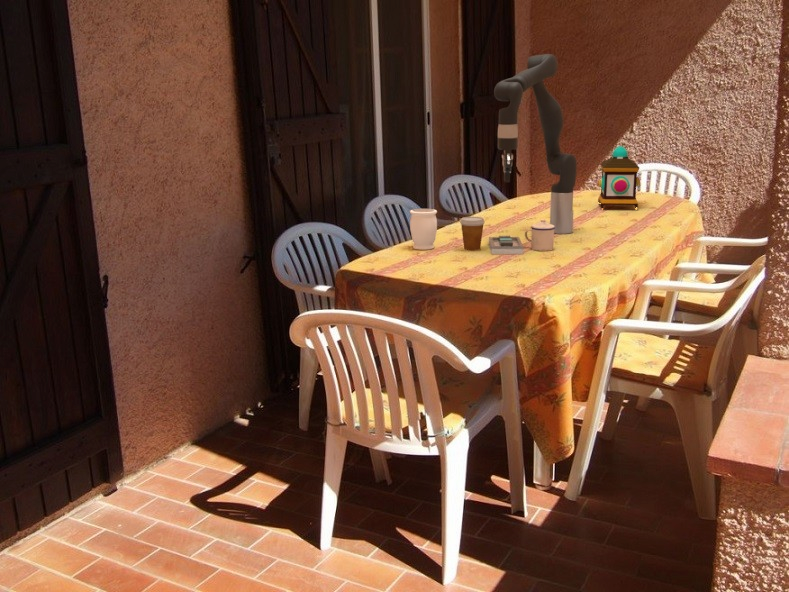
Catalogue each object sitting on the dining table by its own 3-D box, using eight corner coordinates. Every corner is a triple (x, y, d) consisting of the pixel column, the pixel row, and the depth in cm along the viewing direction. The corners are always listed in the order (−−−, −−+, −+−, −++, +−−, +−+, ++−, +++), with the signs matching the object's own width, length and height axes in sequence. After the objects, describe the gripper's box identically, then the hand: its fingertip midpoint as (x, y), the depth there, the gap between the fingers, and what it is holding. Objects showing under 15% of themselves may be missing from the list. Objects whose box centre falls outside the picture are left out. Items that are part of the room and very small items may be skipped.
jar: (418, 251, 341) (418, 213, 337) (405, 247, 350) (405, 209, 346) (441, 248, 346) (441, 211, 342) (428, 244, 354) (428, 207, 350)
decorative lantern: (595, 204, 443) (597, 144, 435) (635, 204, 440) (639, 144, 432) (598, 211, 424) (601, 148, 416) (640, 211, 421) (644, 148, 413)
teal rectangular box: (511, 242, 344) (511, 238, 344) (511, 243, 341) (511, 239, 341) (499, 242, 344) (499, 238, 344) (500, 244, 341) (500, 239, 341)
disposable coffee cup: (484, 246, 349) (484, 216, 346) (484, 251, 340) (484, 220, 337) (460, 246, 350) (460, 216, 347) (459, 251, 341) (459, 220, 338)
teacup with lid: (557, 247, 344) (558, 218, 341) (549, 252, 337) (550, 222, 334) (528, 244, 350) (529, 216, 347) (519, 249, 343) (520, 219, 340)
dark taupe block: (512, 244, 339) (512, 240, 339) (512, 246, 336) (512, 242, 336) (500, 244, 339) (500, 240, 339) (501, 246, 336) (501, 242, 336)
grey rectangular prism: (510, 239, 349) (510, 235, 348) (510, 241, 346) (510, 237, 345) (498, 239, 349) (498, 235, 349) (499, 241, 346) (499, 237, 346)
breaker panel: (518, 244, 352) (519, 236, 351) (523, 254, 334) (523, 246, 333) (488, 244, 352) (488, 237, 351) (491, 254, 335) (491, 246, 334)
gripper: (519, 137, 325) (518, 184, 330) (516, 134, 338) (515, 179, 342) (499, 138, 325) (498, 184, 330) (496, 134, 338) (496, 180, 343)
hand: (507, 182), depth 336 cm, fingers closed
